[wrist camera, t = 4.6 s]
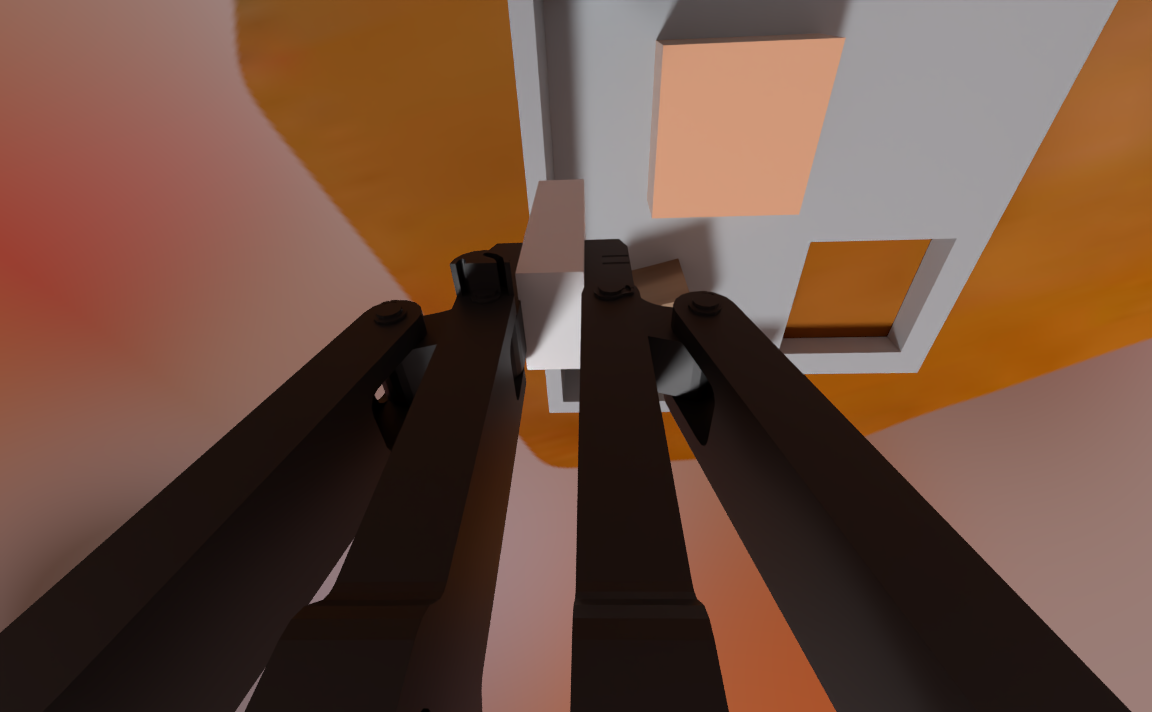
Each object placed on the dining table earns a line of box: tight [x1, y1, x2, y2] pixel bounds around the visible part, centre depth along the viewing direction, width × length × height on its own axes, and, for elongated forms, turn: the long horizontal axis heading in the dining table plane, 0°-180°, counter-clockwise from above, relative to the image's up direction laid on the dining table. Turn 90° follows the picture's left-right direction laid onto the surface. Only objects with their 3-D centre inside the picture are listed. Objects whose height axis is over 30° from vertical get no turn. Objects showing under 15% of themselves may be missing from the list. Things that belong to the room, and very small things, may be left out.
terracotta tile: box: [647, 33, 846, 218], centre depth 24 cm, size 8×8×3 cm
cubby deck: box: [508, 0, 1118, 413], centre depth 27 cm, size 26×28×7 cm
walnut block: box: [632, 259, 689, 307], centre depth 30 cm, size 5×5×5 cm
